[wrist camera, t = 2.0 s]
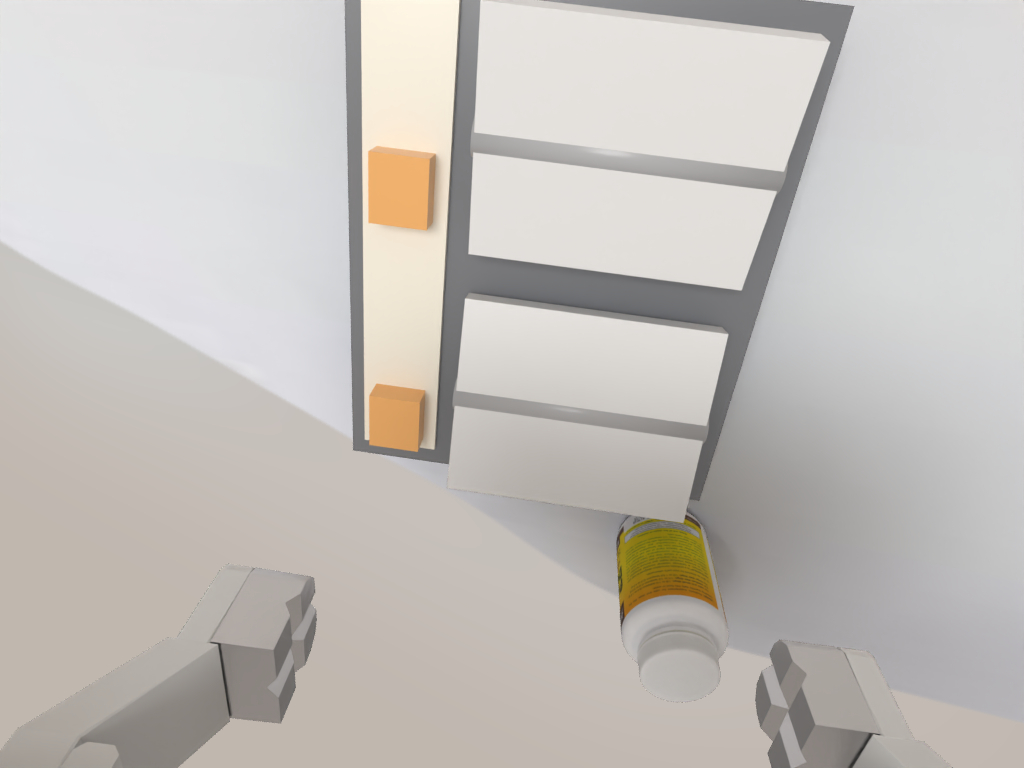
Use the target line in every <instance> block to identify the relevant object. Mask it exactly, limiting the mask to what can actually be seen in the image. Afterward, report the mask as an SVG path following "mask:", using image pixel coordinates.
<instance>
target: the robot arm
mask: <svg viewBox="0 0 1024 768" xmlns="http://www.w3.org/2000/svg"><path fill="white" fill-rule="evenodd" d="M314 593H315V583H314V578H313V577H310V576H304V575H298V574H292V573H286V572H280V571H274V570H267V569H261V568H253V567H246V566H240V565H234V564H227V565H226V566H225V567H223V568H222V569H221V570H220V571H219V572H218V574H217V576H216V577H215V579H214V580H213V582H212V583H211V585H210V586H209V588H208V589H207V591H206V593H205V594H204V596H203V597H202V599H201V600H200V602H199V603H198V605H197V607H196V608H195V610H194V611H193V613H192V615H191V616H190V617H189V619H188V621H187V622H186V624H185V625H184V627H183V629H182V630H181V632H180V633H179V635H178V636H177V638H169V637H168V638H166V639H164V640H162V641H161V642H159V643H157V644H156V645H154V646H153V647H151V648H149V649H148V650H146V651H144V652H143V653H141V654H139V655H138V656H136V657H134V658H133V659H131V660H129V661H128V662H126V663H125V664H123V665H121V666H120V667H118V668H116V669H115V670H113V671H111V672H110V673H108V674H106V675H105V676H103V677H102V678H100V679H98V680H97V681H95V682H93V683H92V684H90V685H88V686H87V687H85V688H83V689H82V690H80V691H79V692H77V693H75V694H74V695H72V696H70V697H69V698H67V699H65V700H64V701H62V702H61V703H59V704H57V705H56V706H54V707H52V708H51V709H49V710H47V711H46V712H44V713H42V714H41V715H39V716H37V717H36V718H34V719H32V720H31V721H29V722H28V723H26V724H24V725H23V726H21V727H20V728H18V729H17V730H16V731H15V732H14V734H13V735H12V736H11V738H10V739H9V740H8V741H7V743H6V744H5V745H4V746H3V748H2V749H1V750H0V768H178V767H179V766H180V765H181V764H182V763H183V762H184V761H186V760H187V759H188V758H189V757H190V756H191V755H192V754H194V753H195V752H196V751H197V750H198V749H199V748H200V747H201V746H203V745H204V744H205V743H206V742H207V741H208V740H209V739H210V738H212V737H213V736H214V735H215V734H216V733H217V732H218V731H219V730H221V729H222V728H223V727H224V726H225V725H226V724H227V723H228V722H230V718H235V719H244V720H253V721H262V722H272V723H281V722H282V719H283V717H284V715H285V712H286V710H287V708H288V705H289V703H290V700H291V698H292V696H293V693H294V691H295V688H296V685H295V672H296V671H297V670H299V669H300V668H301V667H303V666H304V665H305V664H306V661H307V659H308V656H309V654H310V651H311V648H312V644H313V640H314V635H315V630H316V621H317V618H316V609H315V608H314V607H313V606H312V605H311V601H312V598H313V596H314ZM770 657H771V660H772V663H773V665H771V666H770V667H768V668H766V669H765V670H763V671H762V672H761V675H760V677H759V680H758V682H757V688H756V700H755V701H756V709H757V715H758V719H759V723H760V727H761V729H762V730H763V731H764V732H765V733H766V734H767V735H768V736H769V738H770V739H771V740H772V741H773V743H772V745H771V747H770V749H769V752H768V756H769V760H770V763H771V767H772V768H953V767H951V766H950V765H949V764H948V763H947V762H946V761H945V760H944V759H943V758H941V757H940V756H939V755H938V754H937V753H936V752H935V751H934V750H933V749H932V748H930V747H929V746H928V745H927V744H926V743H925V742H922V741H917V740H915V739H914V737H913V735H912V733H911V731H910V729H909V727H908V725H907V723H906V721H905V719H904V717H903V715H902V713H901V711H900V709H899V707H898V705H897V703H896V701H895V699H894V697H893V695H892V693H891V691H890V689H889V687H888V684H887V682H886V680H885V678H884V676H883V674H882V672H881V670H880V668H879V666H878V664H877V662H876V660H875V658H874V657H873V656H872V655H871V654H870V653H869V652H868V651H863V650H855V649H847V648H840V647H838V648H836V647H834V646H826V645H818V644H810V643H802V642H794V641H786V640H779V641H778V642H776V643H775V644H774V646H773V648H772V650H771V652H770Z"/></svg>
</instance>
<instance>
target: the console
mask: <svg viewBox="0 0 1024 768" xmlns="http://www.w3.org/2000/svg"><path fill="white" fill-rule="evenodd" d="M541 1H550V2H558V3H566V4H575V5H583V6H592V7H600V8H608V9H617V10H625V11H634V12H642V13H650V14H659V15H667V16H676V17H684V18H692V19H701V20H709V21H718V22H726V23H734V24H743V25H751V26H760V27H768V28H776V29H785V30H793V31H802V32H810V33H818V34H822V35H823V36H824V37H825V38H826V39H827V40H828V41H830V44H829V47H828V50H827V53H826V56H825V58H824V61H823V64H822V67H821V70H820V72H819V75H818V78H817V81H816V84H815V86H814V89H813V92H812V95H811V98H810V100H809V103H808V106H807V109H806V112H805V114H804V117H803V120H802V123H801V126H800V128H799V131H798V134H797V137H796V140H795V142H794V145H793V148H792V151H791V154H790V156H789V159H788V168H787V174H786V178H785V181H784V184H783V186H782V189H781V190H780V192H779V193H778V194H777V195H776V196H775V198H774V201H773V204H772V207H771V209H770V212H769V215H768V218H767V221H766V223H765V226H764V229H763V232H762V235H761V237H760V240H759V243H758V246H757V249H756V251H755V254H754V257H753V260H752V263H751V265H750V268H749V271H748V274H747V277H746V279H745V282H744V285H743V288H742V290H733V289H726V288H718V287H711V286H703V285H696V284H688V283H681V282H673V281H666V280H659V279H651V278H644V277H636V276H629V275H621V274H614V273H606V272H599V271H591V270H584V269H576V268H569V267H561V266H554V265H546V264H539V263H531V262H524V261H517V260H509V259H502V258H494V257H487V256H479V255H472V254H468V252H469V231H470V210H471V189H472V168H473V157H472V156H471V152H470V143H471V131H472V125H473V120H474V117H475V104H476V83H477V62H478V41H479V20H480V0H345V41H346V94H347V146H348V198H349V251H350V303H351V356H352V408H353V450H355V451H362V452H369V453H376V454H382V455H389V456H396V457H403V458H410V459H417V460H424V461H430V462H437V463H444V464H449V459H450V448H451V438H452V428H453V418H454V409H453V407H452V403H453V393H454V387H455V383H456V379H457V377H458V366H459V356H460V346H461V336H462V325H463V315H464V305H465V298H466V297H467V295H468V294H469V293H475V294H482V295H489V296H497V297H504V298H511V299H519V300H526V301H533V302H541V303H548V304H555V305H563V306H570V307H578V308H585V309H592V310H600V311H607V312H614V313H622V314H629V315H636V316H644V317H651V318H658V319H666V320H673V321H681V322H688V323H695V324H703V325H710V326H717V327H722V328H723V329H724V330H725V331H726V332H727V333H728V334H729V335H728V339H727V343H726V347H725V351H724V356H723V360H722V364H721V368H720V372H719V376H718V381H717V385H716V389H715V393H714V397H713V402H712V406H711V410H710V414H709V430H708V435H707V439H706V441H705V443H704V444H702V448H701V452H700V456H699V460H698V464H697V468H696V473H695V477H694V481H693V485H692V489H691V494H690V498H689V499H691V500H698V501H699V499H700V496H701V493H702V490H703V487H704V484H705V480H706V477H707V474H708V471H709V468H710V464H711V461H712V458H713V455H714V452H715V449H716V445H717V442H718V439H719V436H720V433H721V429H722V426H723V423H724V420H725V417H726V413H727V410H728V407H729V404H730V401H731V398H732V394H733V391H734V388H735V385H736V382H737V378H738V375H739V372H740V369H741V366H742V363H743V359H744V356H745V353H746V350H747V347H748V343H749V340H750V337H751V334H752V331H753V327H754V324H755V321H756V318H757V315H758V312H759V308H760V305H761V302H762V299H763V296H764V292H765V289H766V286H767V283H768V280H769V277H770V273H771V270H772V267H773V264H774V261H775V257H776V254H777V251H778V248H779V245H780V241H781V238H782V235H783V232H784V229H785V226H786V222H787V219H788V216H789V213H790V210H791V206H792V203H793V200H794V197H795V194H796V191H797V187H798V184H799V181H800V178H801V175H802V171H803V168H804V165H805V162H806V159H807V155H808V152H809V149H810V146H811V143H812V140H813V136H814V133H815V130H816V127H817V124H818V120H819V117H820V114H821V111H822V108H823V105H824V101H825V98H826V95H827V92H828V89H829V85H830V82H831V79H832V76H833V73H834V69H835V66H836V63H837V60H838V57H839V54H840V50H841V47H842V44H843V41H844V38H845V34H846V31H847V28H848V25H849V22H850V19H851V15H852V12H853V9H854V6H848V5H839V4H831V3H822V2H814V1H805V0H541Z"/></svg>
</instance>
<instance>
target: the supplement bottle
mask: <svg viewBox="0 0 1024 768" xmlns="http://www.w3.org/2000/svg"><path fill="white" fill-rule="evenodd" d="M616 545H617V566H618V584H619V600H620V620H621V635H622V642H623V645H624V647H625V649H626V651H627V653H628V654H629V656H630V657H631V658H632V659H633V660H634V661H635V662H636V663H638V666H639V674H640V680H641V682H642V685H643V686H644V688H645V689H646V690H647V691H648V692H649V693H651V694H652V695H654V696H656V697H658V698H660V699H663V700H666V701H671V702H690V701H695V700H698V699H701V698H703V697H706V696H707V695H709V694H710V693H712V692H713V691H714V690H715V689H716V687H717V686H718V684H719V682H720V677H721V673H720V667H719V662H718V660H719V658H720V657H721V656H722V655H723V653H724V651H725V649H726V647H727V644H728V639H729V633H728V626H727V621H726V617H725V613H724V608H723V604H722V599H721V595H720V590H719V586H718V582H717V578H716V573H715V569H714V565H713V561H712V557H711V552H710V548H709V544H708V539H707V536H706V533H705V530H704V528H703V526H702V525H701V523H700V522H699V521H698V520H697V519H696V518H695V517H694V516H692V515H691V514H690V513H688V512H686V515H685V519H684V523H680V522H673V521H666V520H660V519H653V518H646V517H639V516H632V515H631V516H630V517H629V518H627V519H626V520H625V522H624V523H623V524H622V526H621V527H620V529H619V531H618V535H617V541H616Z"/></svg>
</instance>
